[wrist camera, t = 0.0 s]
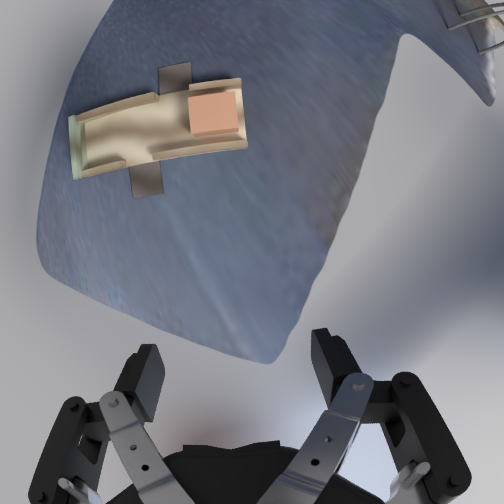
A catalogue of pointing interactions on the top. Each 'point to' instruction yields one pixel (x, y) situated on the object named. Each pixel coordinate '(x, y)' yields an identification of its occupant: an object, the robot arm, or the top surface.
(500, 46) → the citrus juicer
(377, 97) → the top surface
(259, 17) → the top surface
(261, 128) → the top surface
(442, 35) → the top surface
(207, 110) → the block
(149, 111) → the box
